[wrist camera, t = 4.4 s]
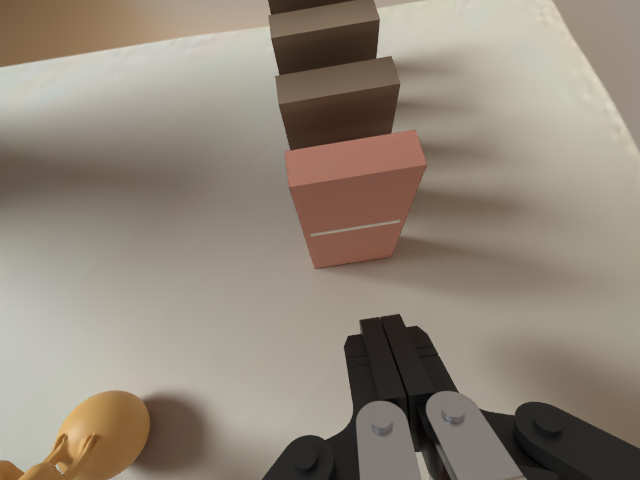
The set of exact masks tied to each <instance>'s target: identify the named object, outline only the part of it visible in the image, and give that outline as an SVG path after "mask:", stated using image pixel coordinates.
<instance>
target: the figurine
mask: <svg viewBox="0 0 640 480" xmlns="http://www.w3.org/2000/svg"><path fill="white" fill-rule="evenodd" d="M149 430H150V417H149V413H148V410H147V408H146V406H145V404H144V403H143V402H142V401H141V400H140V399H139V398H138V397H137V396H135V395H133V394H131V393H129V392H125V391H107V392H103V393H100V394H97V395H94V396H92V397H90V398H88V399H87V400H85V401H84V402H82V403H81V404H80V405H78V406H77V407H76V408H75V409H74V410H73V411H72V412H71V413H70V414H69V415H68V417H67V418H66V419H65V421H64V422H63V424H62V426H61V428H60V430H59V432H58V435H57V438H56V441H55V443H54V445H53V448H52V451H51V453H50V454H49V456H48V457H47V458H46V459H45V460H44V461H43V462H42V463H40V464H37V465H35V466H33V467H31V468H30V469H29V470H28V471H27V472H26V473H24V472H23V471H21V470H20V469H18V468H17V467H16V466H15V465H14V464H12V463H11V462H9V461H0V480H107V479H110V478H112V477H114V476H116V475H118V474H119V473H121V472H122V471H124V470H125V469H126V468H127V467H128V466H130V465H131V464H132V463H133V462H134V460H135V459H136V458H137V457H138V456H139V454H140V453H141V451H142V449H143V448H144V446H145V444H146V441H147V438H148V435H149ZM56 464H58V466H59V468H60V470H61V471H62V472H63V473H64V474H63V475H62V474H61V473H60V472H59V471H58V470H57V469H56V467H55V465H56Z"/></svg>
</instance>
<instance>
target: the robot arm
mask: <svg viewBox="0 0 640 480" xmlns="http://www.w3.org/2000/svg"><path fill="white" fill-rule="evenodd" d="M359 322H360V330H361V334H358V335H352V336H348V338H347V340H346V343H345V345H344V350H345V357H346V363H347V369H348V376H349V382H350V389H351V395H352V401H353V415H352V419H351V421H350V423H349V424H348V425H347V427H346V428H345V429H344V430H342V431H341V432H340V433H338V434H337V435H335V436H333V437H331V438H329V439H327V440H324V439H322V438H320V437H318V436H314V435H306V436H302V437H299V438H297V439H295V440H294V441H292V442H291V443H290V444H289V445H288V446H287V447H286V449H285V450H284V451H283V452H282V454H281V455H280V456H279V458H278V459H277V460H276V462H275V463H274V464H273V466H272V467H271V468H270V470H269V471H268V472H267V473H266V475H265V476H264V477H263V479H262V480H421V476H420V472H419V468H418V463H417V459H416V455H415V452H422V455H423V458H424V461H425V464H426V467H427V469H428V474H429V479H430V480H640V449H639V448H637V447H635V446H633V445H631V444H629V443H627V442H625V441H623V440H621V439H619V438H617V437H615V436H613V435H611V434H609V433H607V432H605V431H603V430H601V429H599V428H597V427H595V426H593V425H591V424H589V423H587V422H585V421H583V420H581V419H579V418H577V417H575V416H573V415H571V414H569V413H567V412H565V411H563V410H561V409H558V408H556V407H554V406H552V405H549V404H546V403H541V402H528V403H525V404H522V405H521V406H519V407H518V408H517V410H516V412H515V416H514V415H507V414H500V413H493V412H488V411H484V410H481V409H479V408H478V407H477V406H476V404H475V403H474V402H473V401H472V400H471V399H469V398H468V397H466V396H464V395H463V394H460V393H459V392H458V390H457V388H456V387H455V385H454V383H453V381H452V379H451V377H450V375H449V374H448V372H447V370H446V368H445V366H444V364H443V362H442V360H441V359H440V357H439V356H438V353H437V351H436V349H435V347H434V346H433V344H432V342H431V340H430V338H429V336H428V334H427V333H425V332H424V331H423V330H422V329H420V328H419V327H418V326H412V327H406V326H405V324H404V322H403V320H402V318H401V316H400V314H396V315H390V316H383V317H380V319H379V317H376V318H369V319H363V320H359Z"/></svg>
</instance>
